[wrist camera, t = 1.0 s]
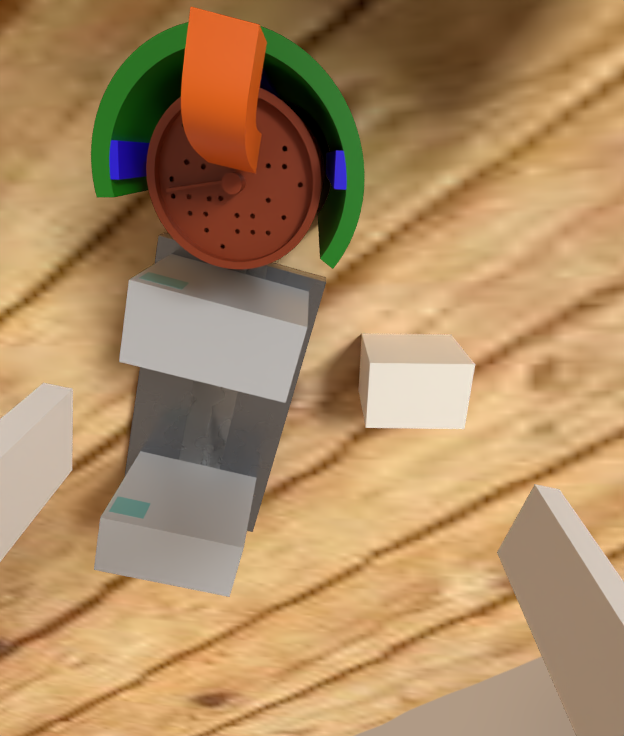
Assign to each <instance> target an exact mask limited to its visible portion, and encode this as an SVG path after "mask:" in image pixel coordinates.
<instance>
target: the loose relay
mask: <svg viewBox="0 0 624 736" xmlns="http://www.w3.org/2000/svg"><path fill="white" fill-rule="evenodd" d="M474 368H475V364H474V362H473V361H472V360H471V359H470V357H469V356H468V355H467V354H466V352H465V351H464V350H463V349H462V347H461V346H460V345H459V344H458V342H457V341H456V340H455V339H454V337H453V336H452V335H451V334H362V339H361V357H360V374H359V395H360V401H361V406H362V411H363V416H364V421H365V426H366V428H424V429H464V428H465V422H466V416H467V410H468V404H469V398H470V392H471V386H472V380H473V374H474Z"/></svg>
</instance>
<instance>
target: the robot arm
mask: <svg viewBox="0 0 624 736" xmlns="http://www.w3.org/2000/svg"><path fill="white" fill-rule="evenodd" d="M72 427H73V389H71V388H67V387H62V386H57V385H52V384H47V383H43V384H41V385H40V386H39V387H38V388H37V389H35V390H34V391H33V392H32V393H31V394H29V395H28V396H27V397H26V398H25V399H23V400H22V401H21V402H20V403H19V404H17V405H16V406H15V407H14V408H13V409H11V410H10V411H9V412H8V413H7V414H5V415H4V416H3V417H2V418H1V419H0V562H1V560H2V559H3V558H4V556H5V555H6V554H7V553H8V551H9V550H10V549H11V547H12V546H13V545H14V544H15V542H16V541H17V540H18V539H19V537H20V536H21V535H22V533H23V532H24V531H25V530H26V528H27V527H28V526H29V525H30V523H31V522H32V521H33V519H34V518H35V517H36V516H37V514H38V513H39V512H40V510H41V509H42V508H43V507H44V505H45V504H46V503H47V502H48V500H49V499H50V498H51V496H52V495H53V494H54V493H55V491H56V490H57V489H58V488H59V486H60V485H61V484H62V482H63V481H64V480H65V479H66V477H67V476H68V475H69V473H70V472H71V471H72ZM497 553H498V556H499V558H500V560H501V563H502V565H503V567H504V570H505V572H506V574H507V577H508V579H509V581H510V584H511V586H512V588H513V591H514V593H515V595H516V598H517V600H518V602H519V604H520V607H521V609H522V611H523V614H524V616H525V618H526V621H527V623H528V625H529V628H530V630H531V632H532V635H533V637H534V639H535V642H536V644H537V646H538V649H539V651H540V653H541V656H542V658H543V660H544V662H545V665H546V667H547V670H548V672H549V674H550V676H551V679H552V681H553V683H554V686H555V688H556V690H557V692H558V695H559V697H560V700H561V702H562V704H563V707H564V709H565V711H566V714H567V716H568V718H569V721H570V723H571V725H572V727H573V730H574V732H575V734H576V736H624V582H623V580H622V579H621V577H620V576H619V574H618V573H617V572H616V570H615V569H614V567H613V566H612V564H611V563H610V561H609V560H608V559H607V557H606V556H605V554H604V553H603V551H602V550H601V548H600V547H599V546H598V544H597V543H596V541H595V540H594V538H593V537H592V535H591V534H590V533H589V531H588V530H587V528H586V527H585V525H584V524H583V523H582V521H581V520H580V518H579V517H578V515H577V514H576V512H575V511H574V510H573V508H572V507H571V505H570V504H569V502H568V501H567V499H566V498H565V497H564V495H563V494H562V492H561V491H560V489H555V488H550V487H545V486H540V485H534V487H533V488H532V490H531V492H530V494H529V496H528V497H527V499H526V501H525V503H524V505H523V506H522V508H521V510H520V512H519V514H518V516H517V517H516V519H515V521H514V523H513V525H512V526H511V528H510V530H509V532H508V534H507V535H506V537H505V539H504V541H503V543H502V544H501V546H500V548H499V550H498V552H497Z"/></svg>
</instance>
